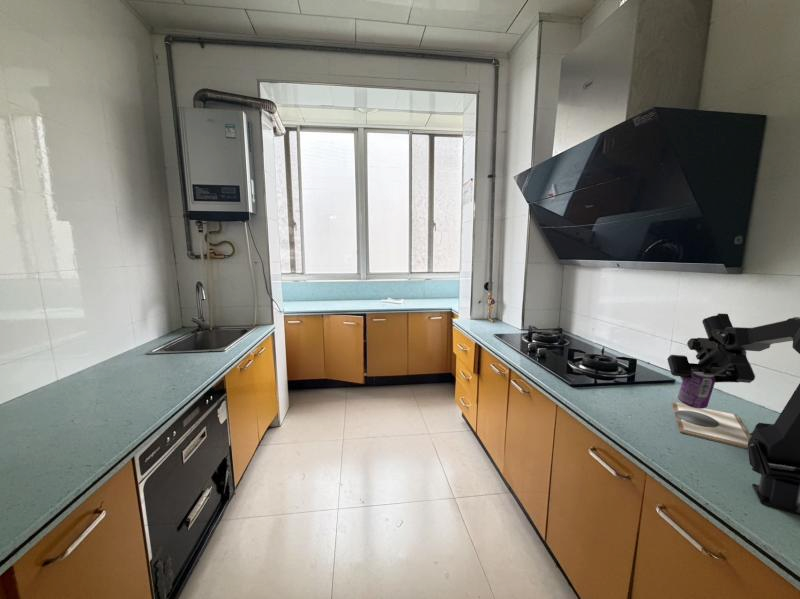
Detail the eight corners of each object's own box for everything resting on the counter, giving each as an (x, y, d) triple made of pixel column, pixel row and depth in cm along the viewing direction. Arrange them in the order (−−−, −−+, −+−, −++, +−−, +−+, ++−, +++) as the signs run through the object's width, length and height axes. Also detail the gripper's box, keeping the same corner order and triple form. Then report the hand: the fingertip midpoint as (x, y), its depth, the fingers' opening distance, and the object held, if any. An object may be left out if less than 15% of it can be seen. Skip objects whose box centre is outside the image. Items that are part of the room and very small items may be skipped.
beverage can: (710, 403, 102) (720, 371, 97) (702, 413, 98) (713, 380, 94) (681, 393, 107) (690, 361, 103) (673, 402, 103) (682, 370, 99)
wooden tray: (758, 451, 87) (758, 448, 86) (679, 432, 96) (680, 429, 96) (736, 416, 104) (736, 413, 104) (672, 403, 113) (672, 400, 113)
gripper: (754, 334, 91) (724, 359, 103) (673, 329, 97) (654, 353, 109) (771, 370, 84) (737, 392, 96) (684, 363, 90) (662, 385, 102)
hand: (695, 379), depth 101 cm, fingers closed on beverage can, 7 cm apart
